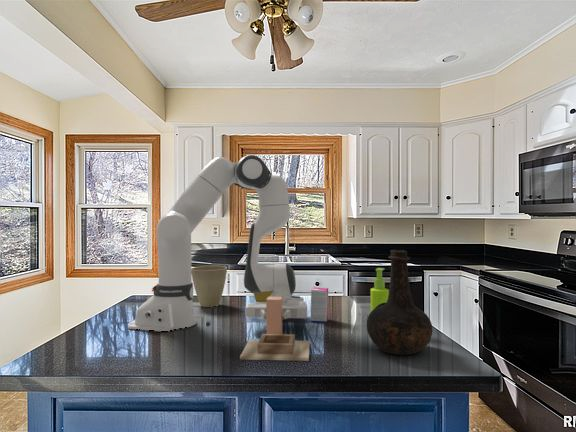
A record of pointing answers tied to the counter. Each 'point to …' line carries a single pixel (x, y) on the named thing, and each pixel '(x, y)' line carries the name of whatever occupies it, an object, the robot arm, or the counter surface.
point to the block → (274, 315)
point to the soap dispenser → (378, 290)
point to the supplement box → (319, 305)
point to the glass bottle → (399, 315)
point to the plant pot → (209, 284)
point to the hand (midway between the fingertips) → (274, 316)
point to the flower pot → (262, 296)
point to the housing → (276, 348)
